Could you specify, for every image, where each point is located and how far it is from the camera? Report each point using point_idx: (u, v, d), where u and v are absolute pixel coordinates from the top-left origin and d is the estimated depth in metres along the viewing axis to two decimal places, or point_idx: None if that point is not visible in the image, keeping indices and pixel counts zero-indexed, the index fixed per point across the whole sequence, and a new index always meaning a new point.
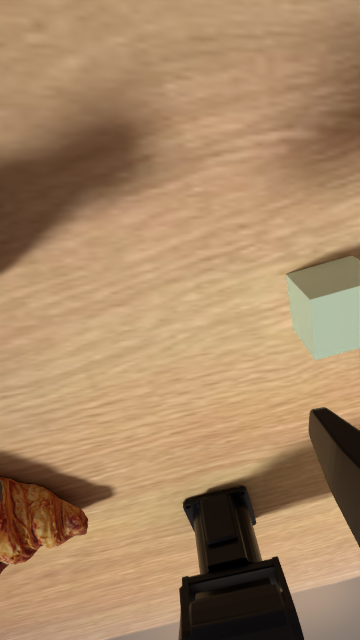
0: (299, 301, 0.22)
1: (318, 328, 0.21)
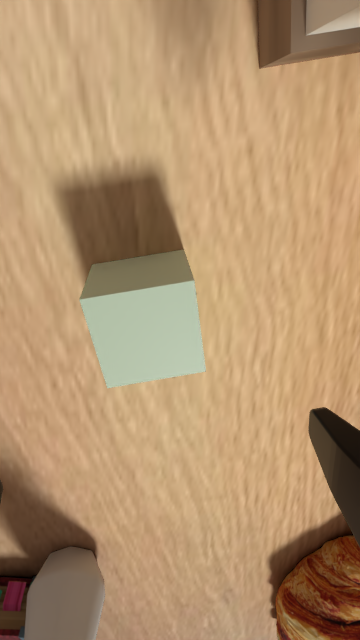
0: None
1: (152, 374, 0.15)
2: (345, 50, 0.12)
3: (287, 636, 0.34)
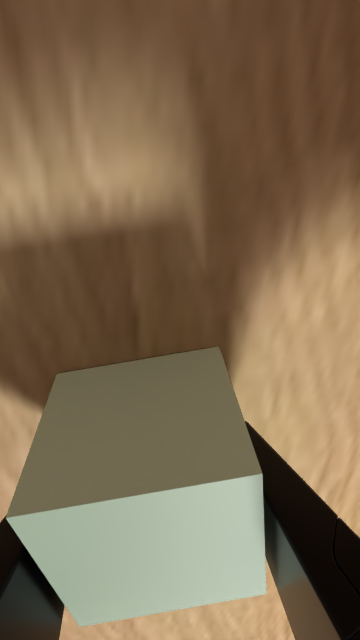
0: None
1: (165, 604, 0.08)
2: None
3: None
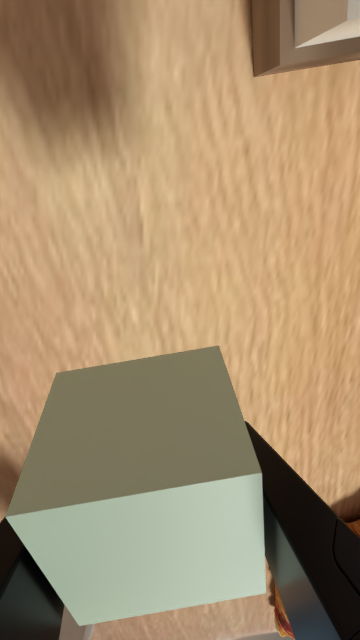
0: None
1: (165, 603, 0.08)
2: (331, 61, 0.13)
3: (285, 620, 0.35)
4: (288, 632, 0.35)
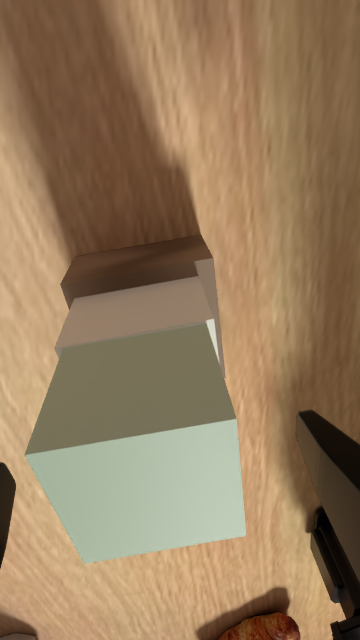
0: None
1: (158, 544, 0.09)
2: None
3: None
4: None
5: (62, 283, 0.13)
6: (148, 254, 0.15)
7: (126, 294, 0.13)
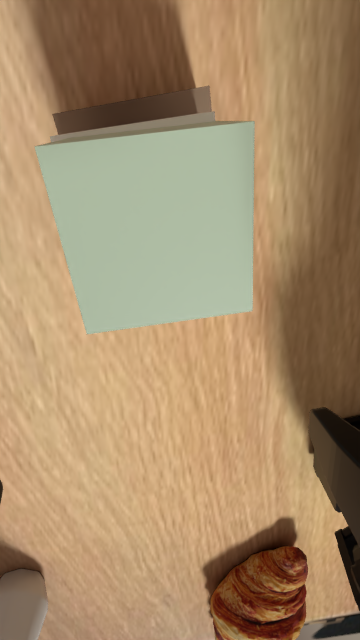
0: None
1: (164, 312, 0.09)
2: None
3: (219, 633, 0.40)
4: None
5: None
6: None
7: None
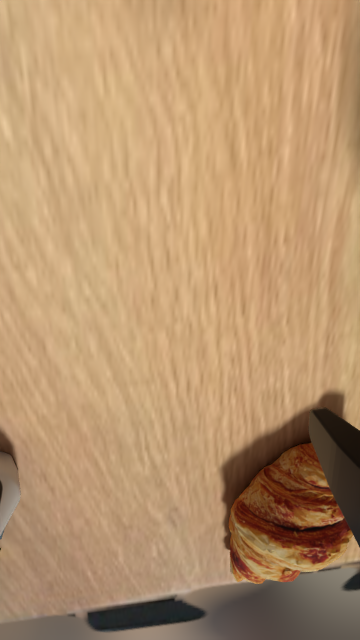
0: None
1: None
2: None
3: (239, 558, 0.32)
4: (242, 572, 0.32)
5: None
6: None
7: None
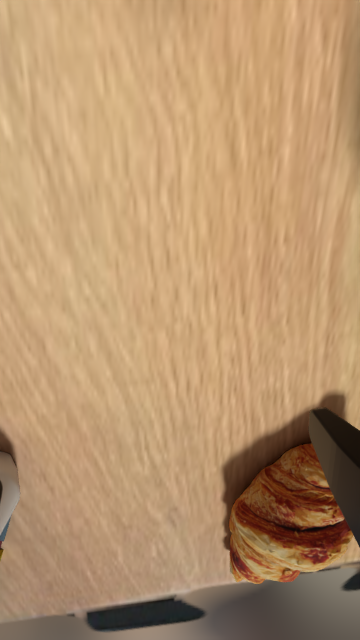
0: None
1: None
2: None
3: (239, 558, 0.32)
4: (242, 572, 0.32)
5: None
6: None
7: None
